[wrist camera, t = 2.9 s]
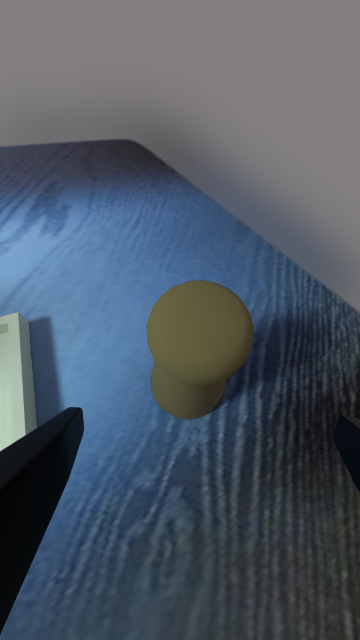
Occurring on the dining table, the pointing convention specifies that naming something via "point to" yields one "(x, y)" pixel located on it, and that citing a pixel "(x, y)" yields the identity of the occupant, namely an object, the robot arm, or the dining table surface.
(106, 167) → the dining table surface
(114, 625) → the dining table surface
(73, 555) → the dining table surface
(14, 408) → the tray
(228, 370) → the cork
